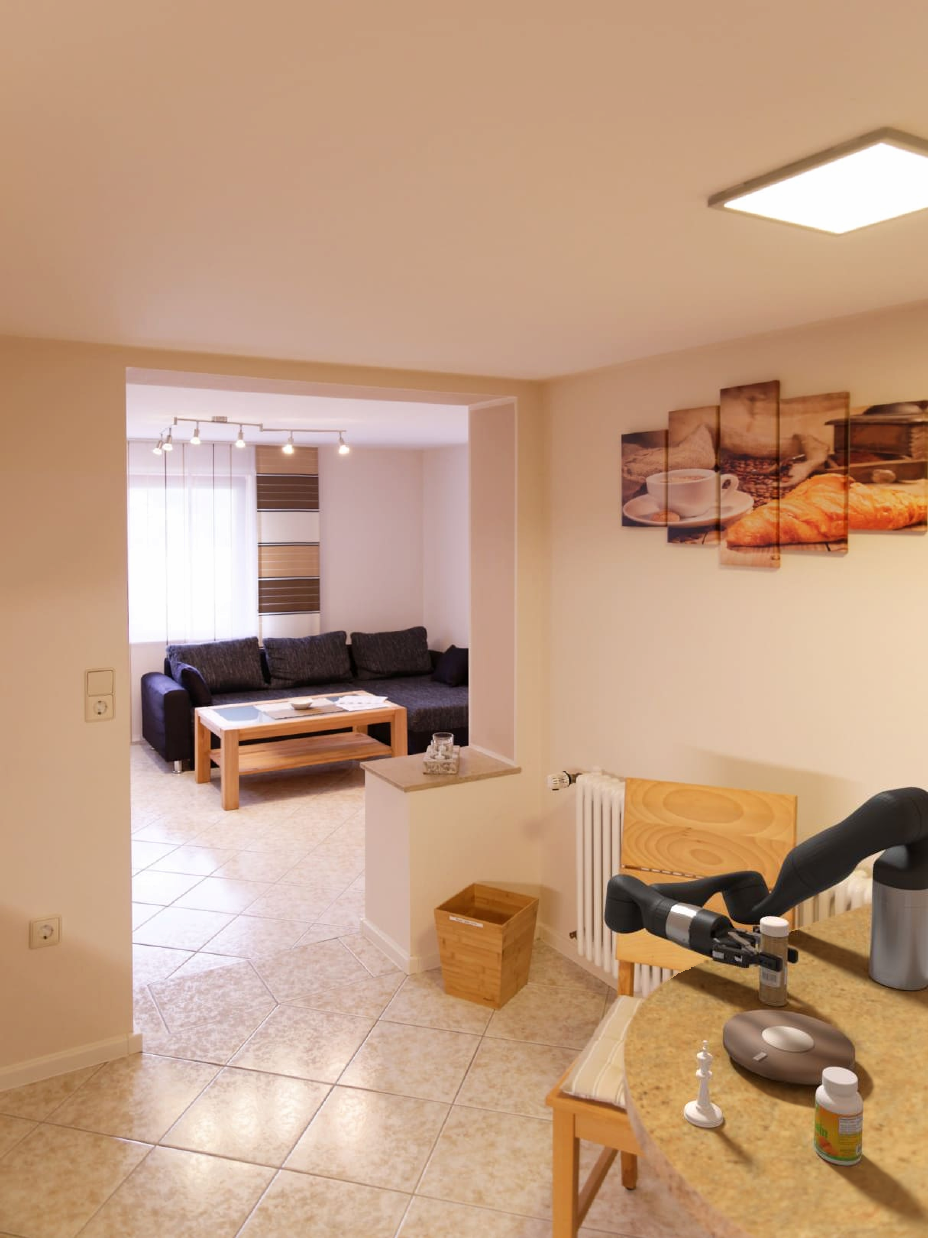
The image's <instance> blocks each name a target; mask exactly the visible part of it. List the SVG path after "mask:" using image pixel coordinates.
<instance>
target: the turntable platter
mask: <svg viewBox="0 0 928 1238" xmlns="http://www.w3.org/2000/svg"><path fill="white" fill-rule="evenodd" d="M722 1045H723V1048H724V1050H725V1052H726V1053H727V1054H728V1056H730V1057H731V1059H732V1060H733V1061H735V1062H736V1063H737V1064H739V1065H740V1066H742V1067H743V1068H745V1069H747V1070H749V1071H750V1072H752V1073H755V1074H756V1075H757V1074H758V1075H760V1076H761V1077H764V1076H765V1077H764V1078H767V1077H768V1078H767V1079H769V1078H771V1079H770V1080H772V1079H775V1080H779V1081H783V1082H788V1083H795V1084H806V1085H805V1086H811V1085H823V1084H822V1073H823V1070H824V1069H826V1068H828V1067H840V1068H844V1069H847V1070H849V1071H851V1072H853V1071H854V1069H855V1066H856V1048H855V1046H854V1044H853V1042H852V1041H851V1040H850V1038H849V1037H848V1036H847V1035H846V1034H845V1033H843V1032H842V1031H841V1030H840V1029H837V1028H836V1027H835V1026H833V1025H831V1024H829V1023H827V1022H825V1021H822V1020H820V1019H818V1018H814V1017H812V1016H809V1015H805V1014H802V1013H797V1012H793V1011H789V1010H788V1011H786V1010H781V1009H779V1010H778V1009H758V1010H757V1009H755V1010H749V1011H748V1010H747V1011H744V1012H740V1013H737V1014H736V1015H733V1016H731V1017H730V1018H728V1019H727V1021H725V1023H724V1025H723V1027H722ZM775 1080H774V1081H775ZM779 1081H778V1082H779ZM783 1082H782V1083H783Z"/></svg>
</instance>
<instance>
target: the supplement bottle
mask: <svg viewBox="0 0 928 1238" xmlns="http://www.w3.org/2000/svg"><path fill="white" fill-rule="evenodd" d="M858 1084H859V1080H858V1076H857V1075H856V1074H855V1073H854V1072H853V1071H852V1072H851V1071H849V1070H847V1069H844V1068H840V1067H828V1068H826V1069H824V1070H823V1073H822V1084H820V1085H819V1086H818V1087H817V1089H816V1091H815V1097H814V1098H815V1103H814V1104H815V1105H814V1107H815V1109H814V1129H813V1132H814V1133H813V1135H814V1136H813V1148H814V1151H816V1153H817V1154H818V1155H819V1156H820V1157H821V1158H822V1159H823V1160H825V1161H827V1162H829V1163H832V1164H834V1165H838V1166H853V1165H856V1164H857V1163H858V1162H860V1160H861V1159H862V1152H863V1128H864V1127H863V1126H864V1125H863V1123H864V1122H863V1121H864V1100H863V1097H862V1096H861V1094H860V1093H859V1092H858V1089H859V1085H858Z"/></svg>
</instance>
